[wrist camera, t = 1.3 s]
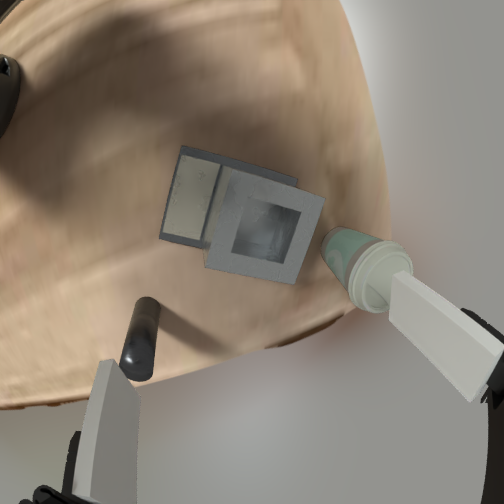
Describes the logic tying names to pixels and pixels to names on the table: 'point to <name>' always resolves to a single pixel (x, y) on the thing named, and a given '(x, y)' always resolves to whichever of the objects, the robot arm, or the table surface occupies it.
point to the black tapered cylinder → (141, 341)
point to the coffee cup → (365, 266)
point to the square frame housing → (240, 216)
